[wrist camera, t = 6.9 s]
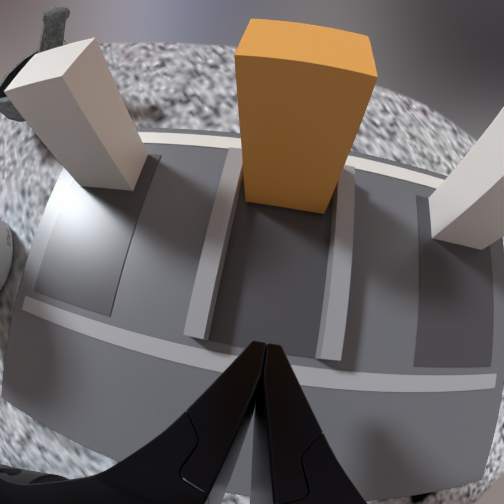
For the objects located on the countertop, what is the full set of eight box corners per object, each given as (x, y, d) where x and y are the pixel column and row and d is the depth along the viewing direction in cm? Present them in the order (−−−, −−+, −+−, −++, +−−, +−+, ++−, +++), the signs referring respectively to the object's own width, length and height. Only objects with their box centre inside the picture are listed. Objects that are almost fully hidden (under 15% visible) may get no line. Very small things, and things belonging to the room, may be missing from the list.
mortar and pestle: (17, 157, 24) (-43, 87, 12) (26, 107, 27) (-16, 44, 15) (104, 108, 25) (59, 14, 13) (101, 66, 28) (70, -10, 16)
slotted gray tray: (462, 471, 13) (577, 509, 2) (22, 396, 16) (-107, 390, 4) (478, 206, 20) (565, 120, 9) (95, 146, 23) (31, 39, 11)
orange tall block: (324, 214, 17) (377, 77, 8) (245, 201, 18) (234, 55, 8) (327, 172, 18) (368, 36, 9) (254, 160, 19) (251, 18, 9)
